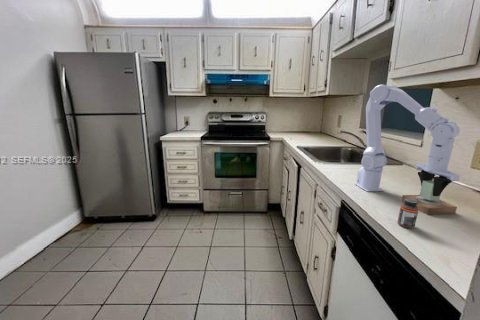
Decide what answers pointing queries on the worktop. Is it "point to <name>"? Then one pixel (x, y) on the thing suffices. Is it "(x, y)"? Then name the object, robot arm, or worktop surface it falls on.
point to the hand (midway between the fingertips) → (430, 193)
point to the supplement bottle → (408, 213)
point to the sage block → (428, 190)
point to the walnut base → (431, 205)
